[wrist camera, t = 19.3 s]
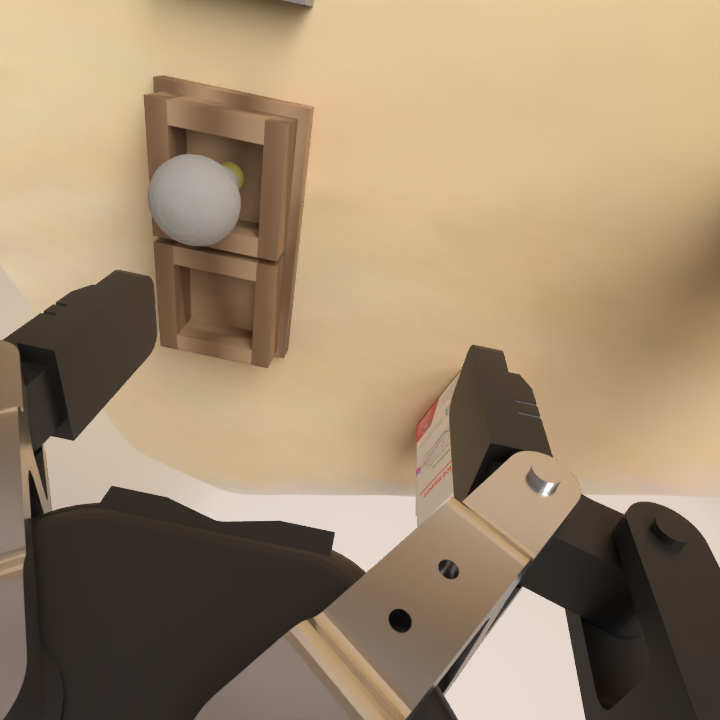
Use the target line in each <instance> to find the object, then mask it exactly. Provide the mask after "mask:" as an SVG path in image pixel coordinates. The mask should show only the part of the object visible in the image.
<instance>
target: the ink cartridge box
mask: <svg viewBox="0 0 720 720" xmlns="http://www.w3.org/2000/svg"><path fill="white" fill-rule="evenodd" d="M460 373H461V371H460ZM460 373H459V374H458V375H457V376H456V377H455V379H454V380H453V381H452V382H451V384H450V385H449V386H448V387H447V389H446V390H445V391H444V392H443V394H442V395H441V396H440V397H439V399H438V400H437V401H436V402H435V404H434V405H433V406H432V407H431V409H430V410H429V411H428V412H427V414H426V415H425V416H424V417H423V419H422V420H421V421H420V423H419V424H418V425H417V453H416V516H417V525H418V527H419V526H420V525H421V524H422V523H423V522H424V521H425V520H426V519H428V518H429V517H430V516H431V515H432V514H433V513H434V512H435V511H437V510H438V509H439V508H440V507H441V506H442V505H443V504H444V503H446V502H447V501H448V500H449V499H451V498H453V497H454V492H453V475H452V459H451V443H450V426H449V410H450V404H451V399H452V396H453V392H454V390H455V387H456V384H457V381H458V378H459V376H460Z"/></svg>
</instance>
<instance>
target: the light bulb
mask: <svg viewBox="0 0 720 720" xmlns="http://www.w3.org/2000/svg"><path fill="white" fill-rule="evenodd" d="M243 183H244V175H243V172H242V170H241V168H240V167H239V166H238V165H237V164H235V163H233V162H224V163H222V164H221V165H220V164H219V163H218V162H216V161H214V160H213V159H211V158H208V157H205V156H201V155H193V154H184V155H179V156H176V157H174V158H172V159H170V160H168V161H166V162H164V163H163V164H162V165H161V166H159V168H158V169H157V170H156V171H155V173H154V175H153V177H152V179H151V182H150V185H149V190H148V202H149V208H150V211H151V214H152V216H153V218H154V220H155V222H156V223H157V225H158V226H159V227H160V229H161V230H162V231H163V232H164V233H165V234H167V235H168V236H169V237H171V238H172V239H174V240H176V241H178V242H180V243H183V244H186V245H190V246H207V245H212V244H215V243H217V242H219V241H221V240H222V239H223V238H225V237H226V236H227V235H228V234H229V233H230V232H231V231H232V230H233V229H234V227H235V225H236V223H237V221H238V218H239V214H240V210H241V198H240V193H239V189H240V188H241V187H242V185H243Z"/></svg>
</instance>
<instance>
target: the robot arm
mask: <svg viewBox="0 0 720 720" xmlns="http://www.w3.org/2000/svg"><path fill="white" fill-rule="evenodd" d="M156 337H157V324H156V310H155V296H154V285H153V281H152V279H151V278H150V277H149V276H146V275H141V274H136V273H131V272H127V271H122V270H116V271H114V272H112V273H111V274H110V275H108V276H107V277H106V278H104V279H103V280H102V281H100V282H99V283H97V284H96V285H90V286H87V287H84V288H81V289H78V290H75V291H72V292H70V293H69V294H67V295H66V296H64V297H63V298H62V299H60V300H59V301H57V302H56V305H52V306H50V307H49V308H47V309H46V310H45V311H44V313H43V314H42V313H40V314H39V315H37V316H36V317H35V318H34V319H32V320H30V321H29V322H28V323H26V324H25V325H23V326H22V327H21V328H19V329H18V330H16V331H15V332H13V333H12V334H10V335H9V336H8V337H6V338H5V339H3V340H0V720H458V719H457V717H456V715H455V714H454V712H453V710H452V709H451V707H450V705H449V704H448V702H447V700H446V698H445V697H444V695H445V694H446V692H447V691H448V690H449V688H450V687H451V686H452V684H453V683H454V681H455V680H456V679H457V677H458V676H459V674H460V673H461V672H462V670H463V669H464V667H465V666H466V664H467V663H468V661H469V660H470V658H471V657H472V655H473V654H474V653H475V651H476V650H477V648H478V647H479V646H480V644H481V643H482V642H483V640H484V639H485V638H486V636H487V635H488V634H489V632H490V631H491V629H492V628H493V627H494V626H495V624H496V623H497V621H498V620H499V619H500V617H501V616H502V615H503V613H504V612H505V611H506V609H507V608H508V607H509V605H510V604H511V603H512V601H513V600H514V599H515V597H516V596H517V594H518V593H519V592H520V591H521V589H522V588H523V587H525V588H527V589H529V590H531V591H533V592H535V593H537V594H538V595H540V596H542V597H544V598H546V599H548V600H550V601H552V602H554V603H556V604H558V605H559V606H561V607H563V608H565V611H566V616H567V622H568V627H569V632H570V638H571V643H572V649H573V653H574V659H575V665H576V670H577V676H578V681H579V686H580V692H581V697H582V702H583V708H584V713H585V718H586V720H720V568H719V566H718V564H717V562H716V560H715V558H714V556H713V554H712V552H711V550H710V548H709V546H708V544H707V542H706V540H705V539H704V537H703V536H702V534H701V533H700V532H699V531H698V530H697V529H696V528H695V526H693V525H692V524H691V523H690V522H689V521H688V520H686V519H685V518H684V517H682V516H681V515H680V514H678V513H676V512H675V511H673V510H671V509H669V508H667V507H665V506H662V505H659V504H656V503H652V502H637V503H634V504H633V505H631V506H630V507H629V509H628V510H627V511H626V513H625V514H622V513H620V512H618V511H615V510H613V509H611V508H609V507H606V506H604V505H602V504H600V503H598V502H595V501H593V500H591V499H589V498H587V497H586V496H584V495H582V494H581V488H580V484H579V482H578V480H577V478H576V477H575V476H574V474H573V473H572V472H571V471H570V470H569V469H568V468H567V467H566V466H565V465H564V464H562V463H561V462H559V461H558V460H556V459H554V458H553V456H552V453H551V450H550V447H549V443H548V440H547V437H546V434H545V430H544V427H543V424H542V420H541V419H540V414H539V411H538V407H537V406H536V401H535V398H534V394H533V391H532V389H531V387H530V386H529V385H528V384H527V383H526V382H525V380H524V379H523V378H522V377H521V376H520V375H519V374H514V373H509V372H508V368H507V364H506V360H505V356H504V353H503V351H501V350H496V349H491V348H487V347H482V346H477V345H472V346H471V347H470V349H469V351H468V353H467V356H466V359H465V362H464V364H463V367H462V370H461V373H460V376H459V378H458V381H457V384H456V387H455V390H454V392H453V396H452V399H451V404H450V410H449V426H450V443H451V459H452V475H453V492H454V497H453V498H451V499H449V500H448V501H447V502H446V503H444V504H443V505H442V506H441V507H440V508H439V509H438V510H437V511H435V512H434V513H433V514H432V515H431V516H430V517H429V518H428V519H426V520H425V521H424V522H423V523H422V524H421V525H420V526H419V527H417V528H416V529H415V530H414V531H413V532H412V533H411V534H410V535H408V536H407V537H406V538H405V539H404V540H403V541H402V542H401V543H400V544H399V545H397V546H396V547H395V548H394V549H393V550H392V551H390V552H389V553H388V554H387V555H386V556H385V557H384V558H383V559H382V560H380V561H379V562H378V563H377V564H376V565H375V566H374V567H372V568H371V569H370V570H369V571H368V572H367V573H366V572H365V571H364V570H362V569H361V568H360V567H359V566H358V565H356V564H355V563H354V562H353V561H351V560H349V559H348V558H346V557H345V556H343V555H341V554H339V553H337V552H335V551H333V550H332V545H333V539H334V534H335V533H334V532H331V531H326V530H321V529H316V528H311V527H306V526H302V525H297V524H292V523H287V522H283V521H250V522H249V521H243V522H220V521H216V520H213V519H211V518H209V517H207V516H205V515H202V514H200V513H198V512H196V511H194V510H192V509H190V508H188V507H186V506H184V505H182V504H180V503H178V502H175V501H173V500H171V499H169V498H167V497H162V496H158V495H153V494H148V493H143V492H138V491H134V490H129V489H124V488H120V487H115V486H111V488H110V489H109V491H108V492H107V494H106V495H105V496H104V498H103V499H102V501H101V502H100V503H92V504H83V505H75V506H70V507H65V508H61V509H58V510H54V511H52V505H51V496H50V487H49V478H48V469H47V460H46V452H45V449H44V445H43V443H44V442H45V441H46V440H47V439H48V438H49V437H50V436H54V437H59V438H64V439H68V440H73V441H74V440H75V439H76V438H77V437H78V435H79V434H80V433H81V432H82V431H83V430H84V429H85V428H86V426H87V425H88V424H89V423H90V422H91V421H92V420H93V419H94V417H95V416H96V415H97V414H98V413H99V412H100V411H101V409H102V408H103V407H104V406H105V405H106V404H107V403H108V402H109V400H110V399H111V398H112V397H113V396H114V395H115V394H116V393H117V391H118V390H119V389H120V388H121V387H122V386H123V385H124V383H125V382H126V381H127V380H128V379H129V378H130V377H131V376H132V374H133V373H134V372H135V371H136V370H137V369H138V368H139V366H140V365H141V364H142V363H143V362H144V361H145V360H146V359H147V357H148V356H149V355H150V354H151V352H152V350H153V348H154V346H155V342H156Z"/></svg>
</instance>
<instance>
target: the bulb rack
mask: <svg viewBox="0 0 720 720" xmlns="http://www.w3.org/2000/svg"><path fill="white" fill-rule="evenodd" d="M153 80H154V93H152V94H147V95H144V106H145V120H146V135H147V150H148V165H149V179H150V182H151V179H152V177H153V175H154V173H155V171H156V170H157V169H158V168H159V166H161V165H162V164H163V163H164V162H166V161H168V160H170V159H172V158H174V157H176V156H179V155H184V154H193V155H201V156H205V157H208V158H211V159H213V160H214V161H216V162H218V163H219V164H220V165H221V164H222V163H224V162H233V163H235V164H237V165H238V166H239V167H240V168H241V170H242V172H243V175H244V183H243V185H242V187H241V188H240V189H239V193H240V198H241V210H240V214H239V218H238V221H237V223H236V225H235V227H234V229H233V230H232V231H231V232H230V233H229V234H228V235H227V236H226V237H225V238H223V239H222V240H221V241H219V242H217V243H215V244H212V245H207V246H190V245H186V244H183V243H180V242H178V241H176V240H174V239H172V238H171V237H169V236H168V235H167V234H165V233H164V232H163V231H162V230H161V229H160V227H159V226H158V225H157V223H156V222H155V220H154V218H153V216H152V224H153V236H157V237H160V238H158V239H157V240H156V241H154V253H155V268H156V283H157V298H158V313H159V327H160V342H161V346H164V347H169V348H174V349H179V350H183V351H188V352H193V353H198V354H202V355H207V356H212V357H217V358H222V359H226V360H231V361H236V362H241V363H246V364H250V365H255V366H260V367H265V368H268V367H269V365H270V363H271V361H272V359H273V357H274V356H275V357H280V358H284V357H285V355H286V353H287V351H288V343H289V334H290V325H291V315H292V306H293V297H294V287H295V278H296V269H297V259H298V250H299V241H300V231H301V222H302V213H303V203H304V194H305V185H306V175H307V166H308V157H309V147H310V138H311V128H312V119H313V110H314V107H311V106H306V105H301V104H297V103H292V102H287V101H282V100H278V99H273V98H268V97H263V96H258V95H254V94H249V93H244V92H239V91H235V90H230V89H225V88H220V87H215V86H211V85H206V84H201V83H196V82H192V81H187V80H182V79H177V78H172V77H168V76H156V77H153Z"/></svg>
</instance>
